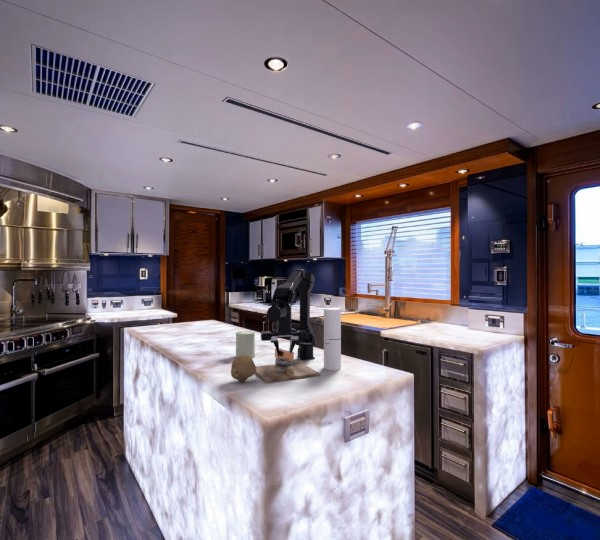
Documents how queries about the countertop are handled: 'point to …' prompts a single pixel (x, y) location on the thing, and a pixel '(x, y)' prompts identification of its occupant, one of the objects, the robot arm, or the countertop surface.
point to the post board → (284, 372)
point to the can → (245, 343)
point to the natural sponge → (242, 367)
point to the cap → (284, 358)
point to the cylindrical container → (332, 338)
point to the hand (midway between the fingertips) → (284, 356)
